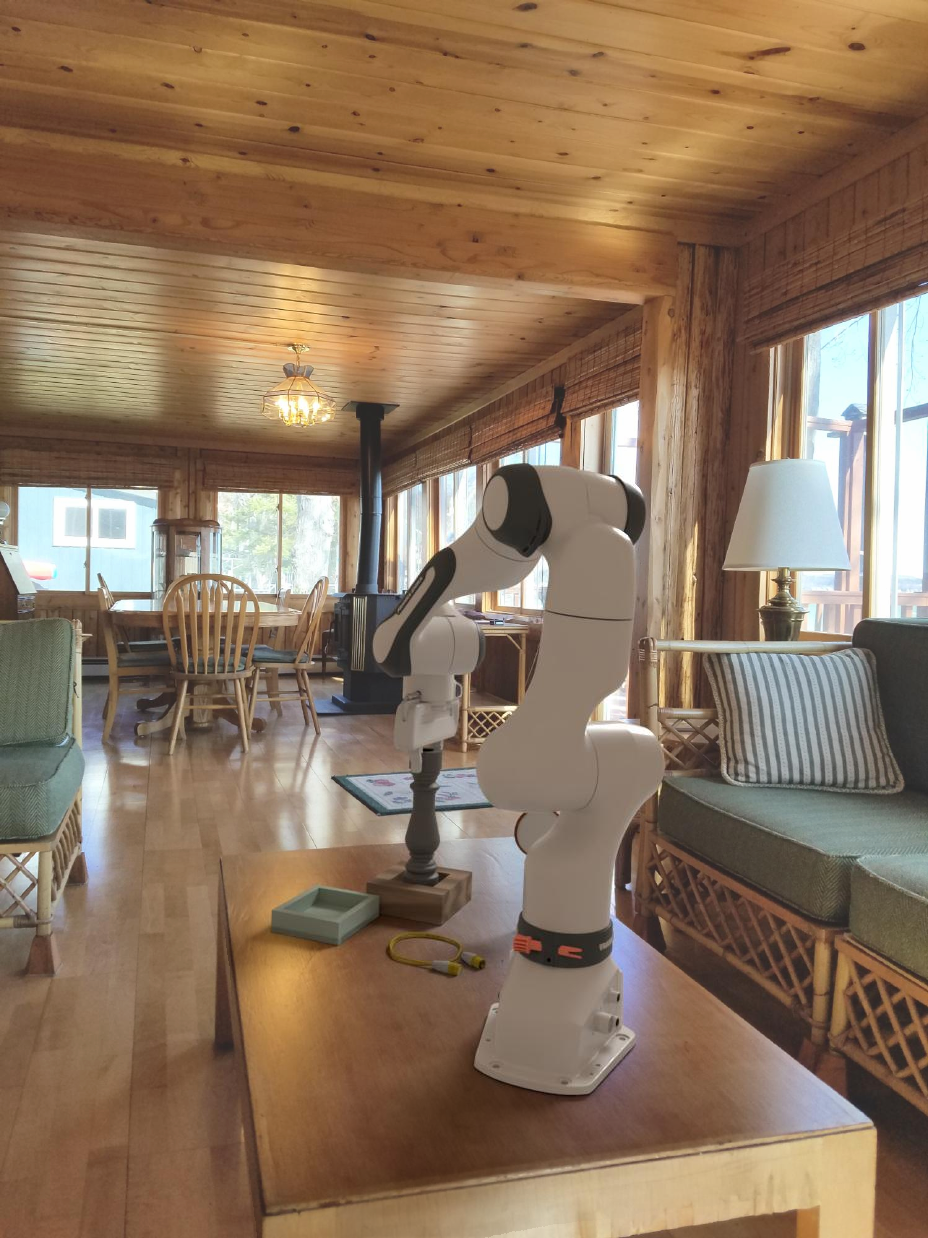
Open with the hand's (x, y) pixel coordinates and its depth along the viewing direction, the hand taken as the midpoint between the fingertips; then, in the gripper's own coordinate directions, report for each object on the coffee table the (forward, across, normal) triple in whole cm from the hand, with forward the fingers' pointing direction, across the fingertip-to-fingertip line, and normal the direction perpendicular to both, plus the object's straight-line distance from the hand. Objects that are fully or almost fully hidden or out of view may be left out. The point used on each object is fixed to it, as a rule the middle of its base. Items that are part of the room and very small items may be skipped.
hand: (425, 769), depth 156 cm
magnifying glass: (+24, 0, -21) cm, 32 cm away
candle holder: (+22, 0, 0) cm, 22 cm away
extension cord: (+25, -19, -10) cm, 33 cm away
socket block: (+24, 0, 0) cm, 24 cm away
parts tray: (+24, -15, +10) cm, 30 cm away
